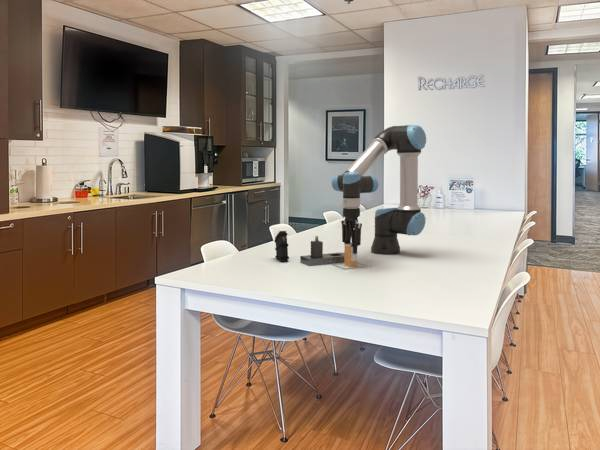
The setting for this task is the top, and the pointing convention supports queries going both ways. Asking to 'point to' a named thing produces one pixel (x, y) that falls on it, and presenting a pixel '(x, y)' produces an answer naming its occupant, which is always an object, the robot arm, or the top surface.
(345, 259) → the plug
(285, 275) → the top surface
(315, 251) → the twin plug
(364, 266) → the tray
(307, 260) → the slotted metal block
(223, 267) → the top surface
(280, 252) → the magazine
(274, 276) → the top surface
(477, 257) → the top surface
